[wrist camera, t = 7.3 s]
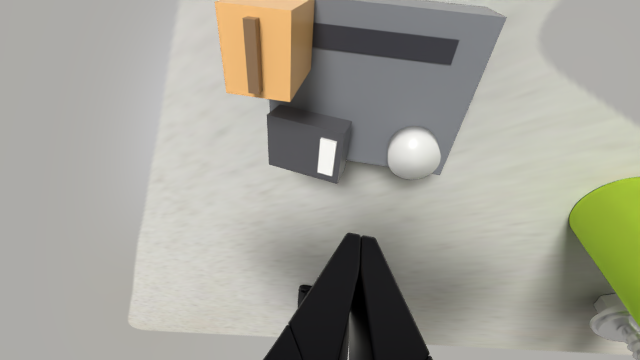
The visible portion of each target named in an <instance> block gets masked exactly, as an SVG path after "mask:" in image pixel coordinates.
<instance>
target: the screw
mask: <svg viewBox="0 0 640 360" xmlns="http://www.w3.org/2000/svg"><path fill="white" fill-rule="evenodd" d="M594 307H595V308H596V310H597V312H598V314H597V315H595V316H594V317H593V318H592V319H591V321H590V327H591V329H592V331H593V332H594V333H595V334H597V335H598V336H601V337H603V338H605V339H608V340H612V341H618V342H625V343H626V344H628V346H627V348H628V349H629V350H630V351H632V352H634V353H633V358H635V359H636V360H640V327H639V325H638V324H637V323H636V321H635V320H634V318H633V317H632V315H631V314H630V312H629V311H628V310H627V308H626V307H625V305H624V304H623V302H622V301H621V299H620V298H619V297H618V295H617V294H616V293H614V294H609V295H603V296H600V297H599V298H598V300H597V301H596V302H595V304H594Z"/></svg>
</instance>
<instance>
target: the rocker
mask: <svg viewBox="0 0 640 360" xmlns="http://www.w3.org/2000/svg"><path fill="white" fill-rule="evenodd" d="M351 126H352V121H349V120H345V119H341V118H336V117H332V116H328V115H323V114H319V113H315V112H310V111H306V110H302V109H297V108H293V107H289V106H284V105H280V104H279V105H278V106H277V107H276V108H275V109H273V110H272V111H271V112H270V113H269V114H267V128H268V152H269V165H273V166H277V167H280V168H284V169H287V170H291V171H294V172H298V173H301V174H305V175H308V176H312V177H315V178H319V179H322V180H326V181H329V182H333V183H336V184H337V183H338V181H339V179H340V177H341V175H342V173H343V171H344V169H345V163H346V157H347V151H348V145H349V138H350V132H351Z"/></svg>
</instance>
